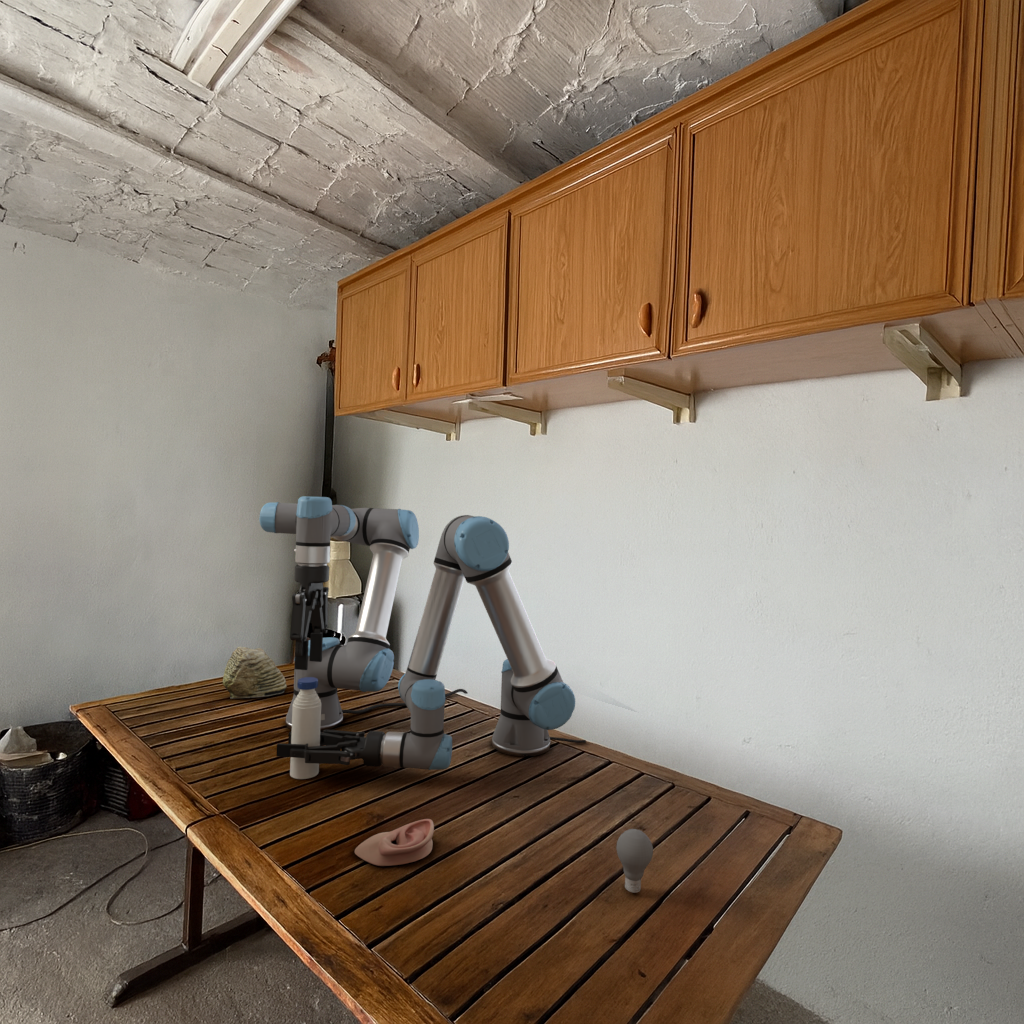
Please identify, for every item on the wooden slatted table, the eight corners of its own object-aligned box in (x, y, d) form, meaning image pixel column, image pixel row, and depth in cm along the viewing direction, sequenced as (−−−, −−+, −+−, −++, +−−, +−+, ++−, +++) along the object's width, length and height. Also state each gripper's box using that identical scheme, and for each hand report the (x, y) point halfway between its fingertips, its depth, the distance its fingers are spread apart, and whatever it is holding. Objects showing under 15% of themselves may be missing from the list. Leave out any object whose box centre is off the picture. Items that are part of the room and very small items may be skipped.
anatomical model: (347, 838, 110) (374, 807, 122) (346, 860, 111) (373, 828, 122) (419, 850, 108) (440, 817, 119) (418, 873, 108) (439, 838, 119)
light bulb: (610, 879, 108) (613, 822, 108) (644, 879, 109) (647, 822, 109) (619, 902, 102) (622, 840, 102) (655, 901, 103) (658, 840, 103)
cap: (312, 682, 147) (312, 676, 147) (321, 687, 144) (321, 680, 144) (294, 686, 144) (294, 679, 144) (302, 691, 141) (302, 683, 141)
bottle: (311, 765, 149) (314, 676, 149) (323, 774, 144) (327, 682, 144) (285, 772, 145) (288, 680, 144) (297, 781, 140) (300, 687, 140)
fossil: (218, 695, 195) (220, 647, 195) (278, 685, 208) (279, 640, 207) (228, 703, 189) (230, 653, 188) (289, 692, 201) (290, 645, 201)
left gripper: (315, 559, 154) (312, 653, 154) (274, 567, 135) (271, 675, 135) (345, 561, 153) (341, 656, 153) (308, 569, 134) (304, 678, 134)
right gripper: (372, 784, 135) (265, 778, 135) (392, 748, 154) (297, 743, 154) (374, 749, 134) (266, 743, 135) (393, 718, 154) (299, 713, 154)
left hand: (308, 664), depth 144 cm, fingers open, 7 cm apart
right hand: (283, 743), depth 145 cm, fingers closed on bottle, 6 cm apart
